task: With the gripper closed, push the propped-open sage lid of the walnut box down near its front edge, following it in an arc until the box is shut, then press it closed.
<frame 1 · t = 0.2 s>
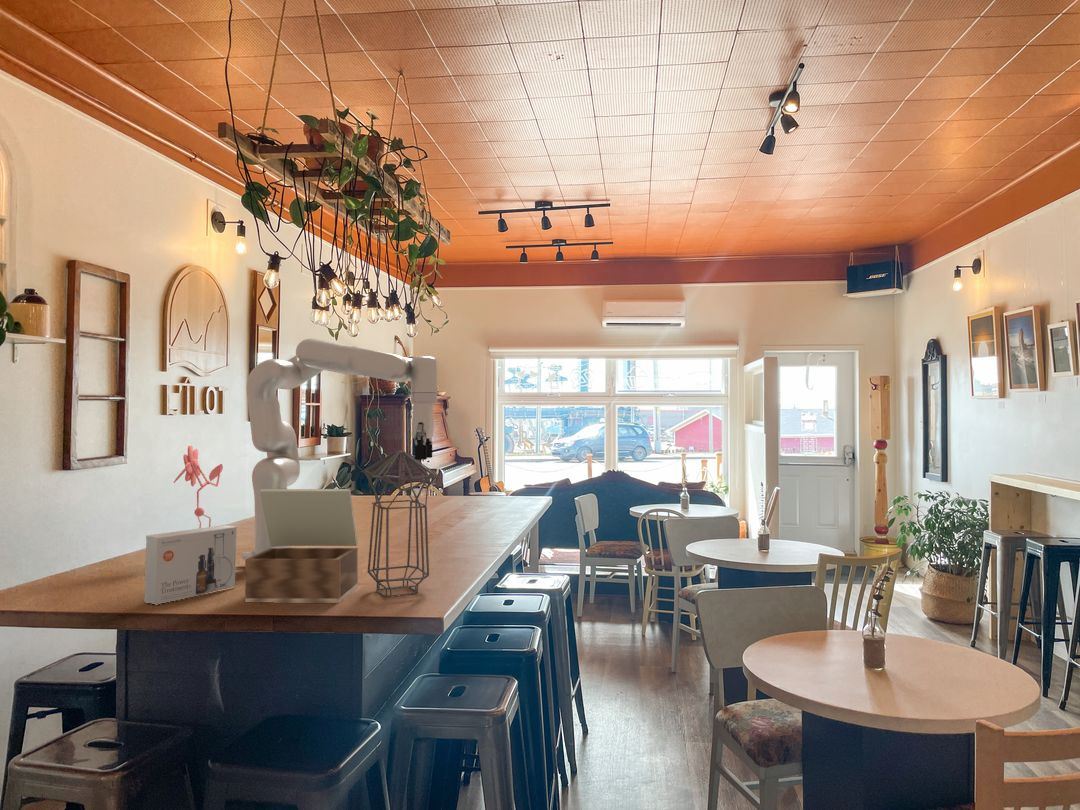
hand: (423, 458, 214), 31 cm above the table, tool pointing down, fingers open, 9 cm apart
skincare box: (192, 596, 180), on the table
geometric lantern: (399, 593, 182), on the table
figurine: (190, 561, 224), on the table
lid: (309, 517, 185), point 18 cm above the table, hinge at 65.0°
walnut box: (303, 594, 180), on the table
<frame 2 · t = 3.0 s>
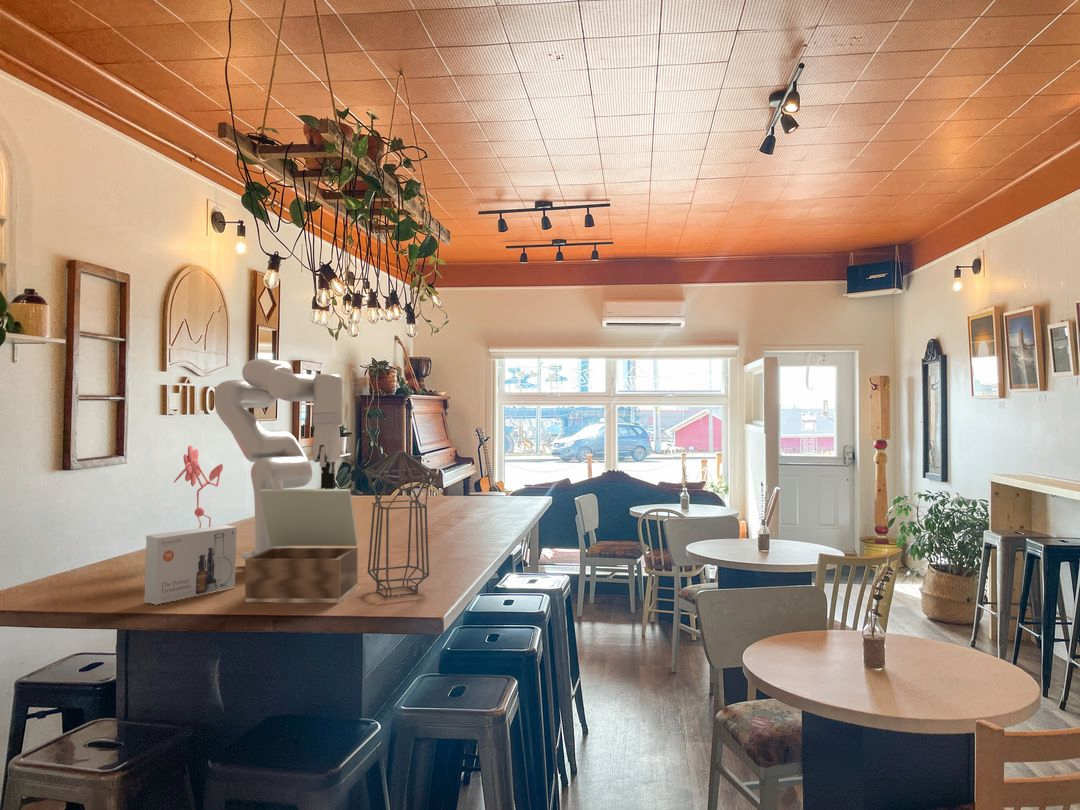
hand: (328, 487, 200), 24 cm above the table, tool pointing down, fingers closed
nothing on the table moved.
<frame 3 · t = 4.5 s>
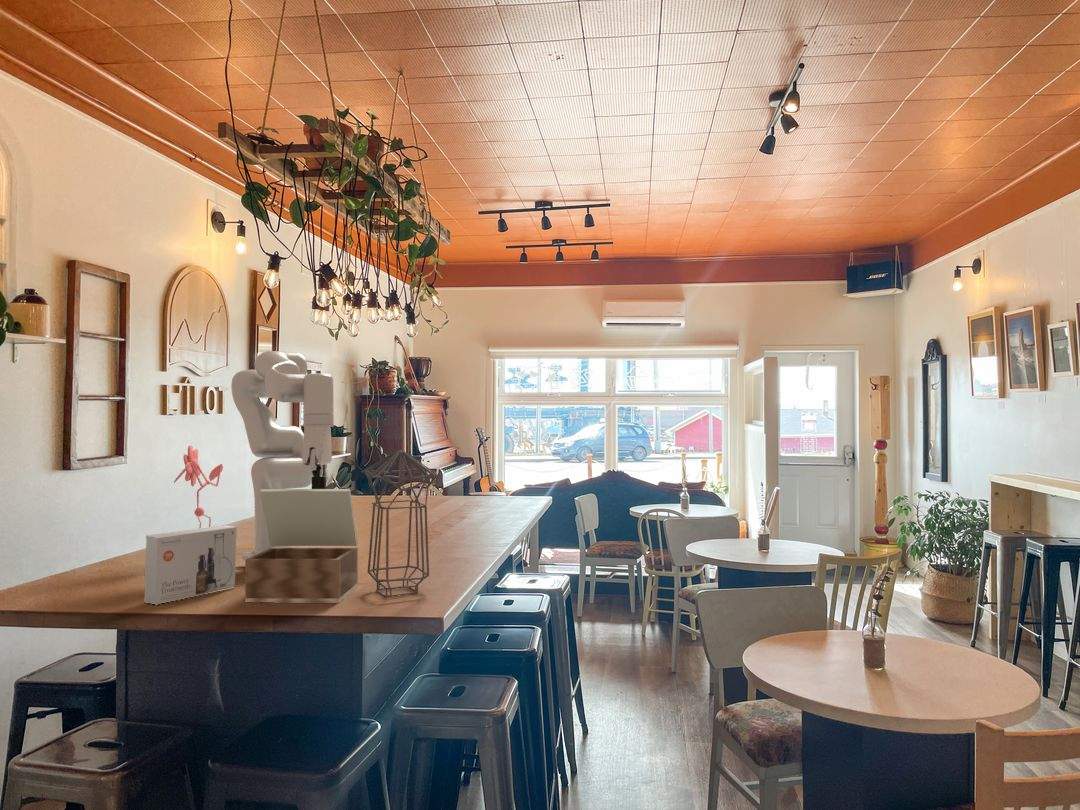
hand: (318, 492, 192), 24 cm above the table, tool pointing down, fingers closed
nothing on the table moved.
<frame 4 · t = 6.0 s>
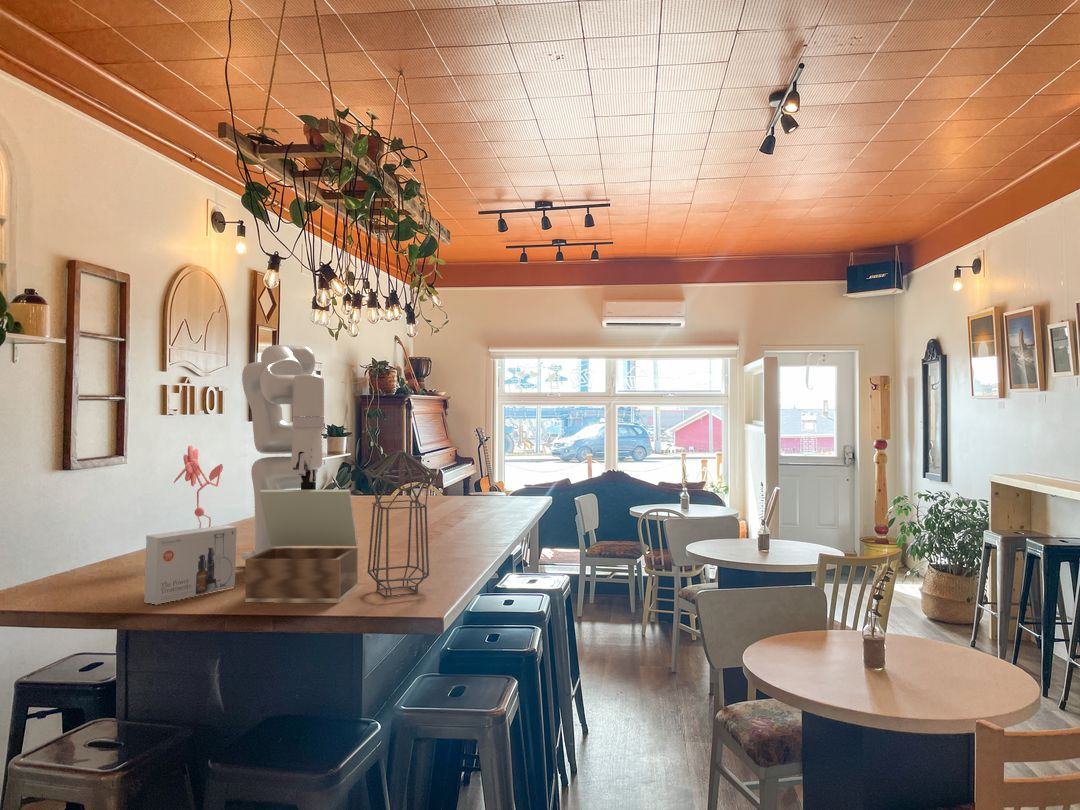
hand: (308, 498, 184), 23 cm above the table, tool pointing down, fingers closed
lid: (309, 518, 185), point 18 cm above the table, hinge at 64.2°, touching gripper
everything else where it was.
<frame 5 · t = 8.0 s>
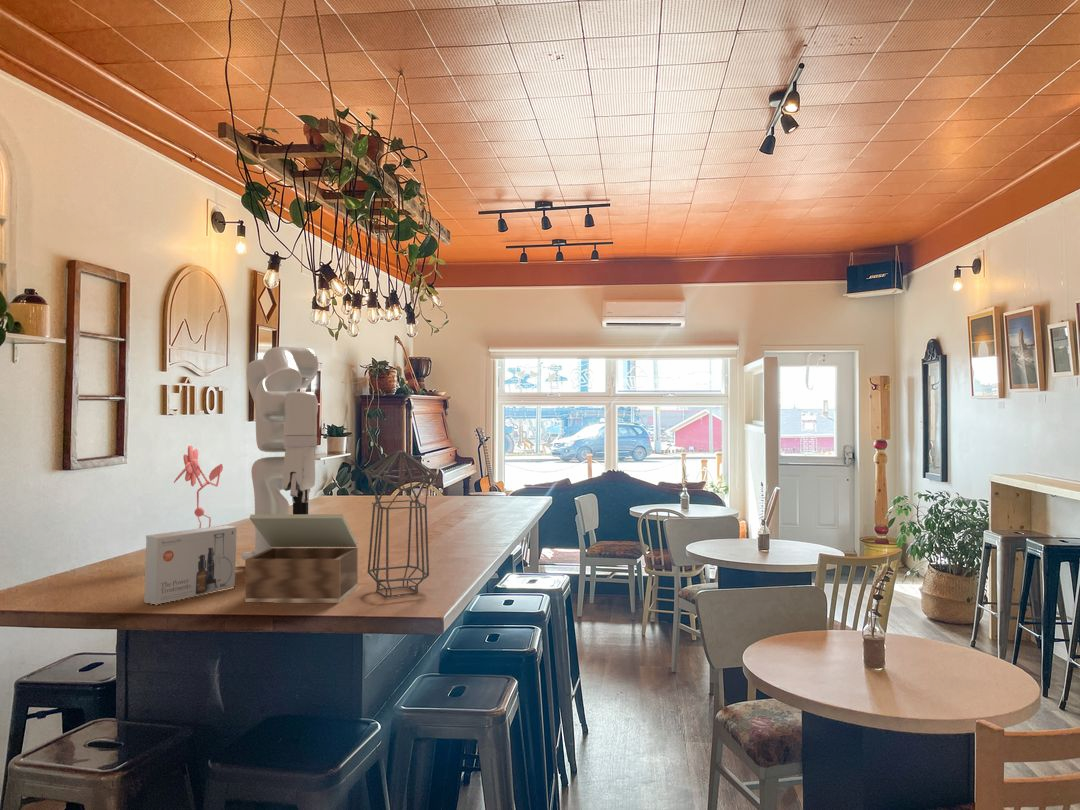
hand: (300, 518, 178), 19 cm above the table, tool pointing down, fingers closed
lid: (305, 531, 182), point 15 cm above the table, hinge at 34.8°, touching gripper
everything else where it was.
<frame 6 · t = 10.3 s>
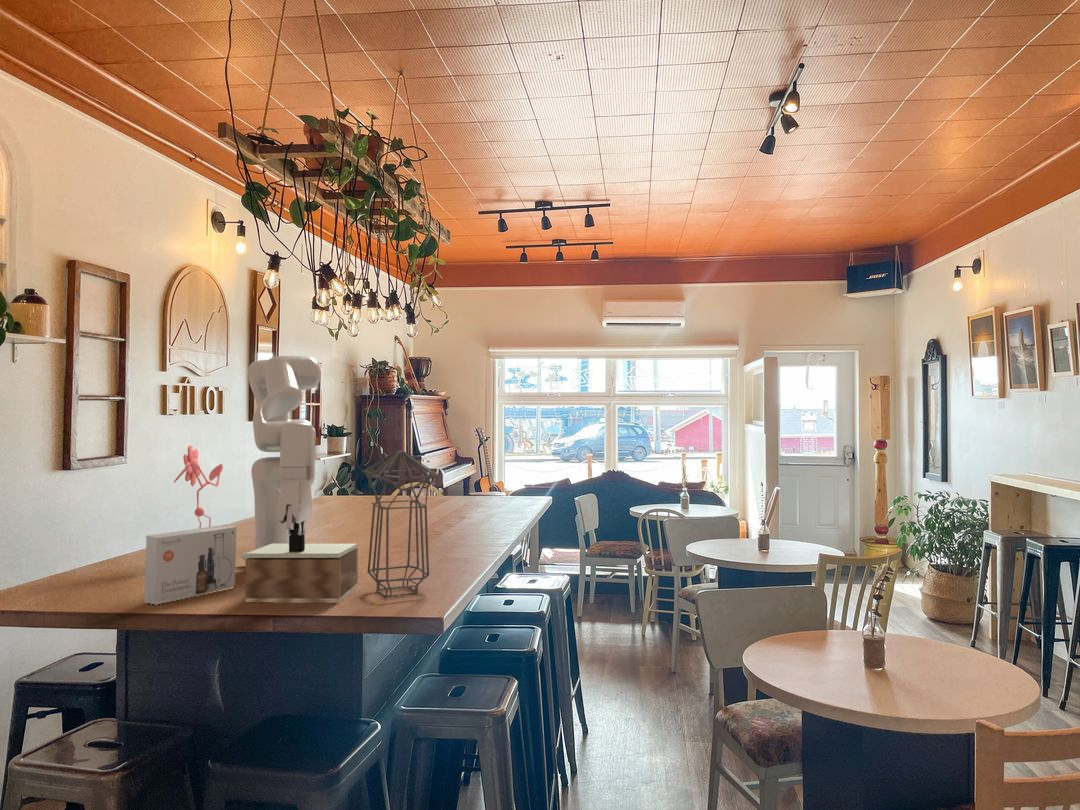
hand: (296, 551, 176), 11 cm above the table, tool pointing down, fingers closed
lid: (303, 550, 181), point 11 cm above the table, hinge at 1.6°, touching gripper
everything else where it was.
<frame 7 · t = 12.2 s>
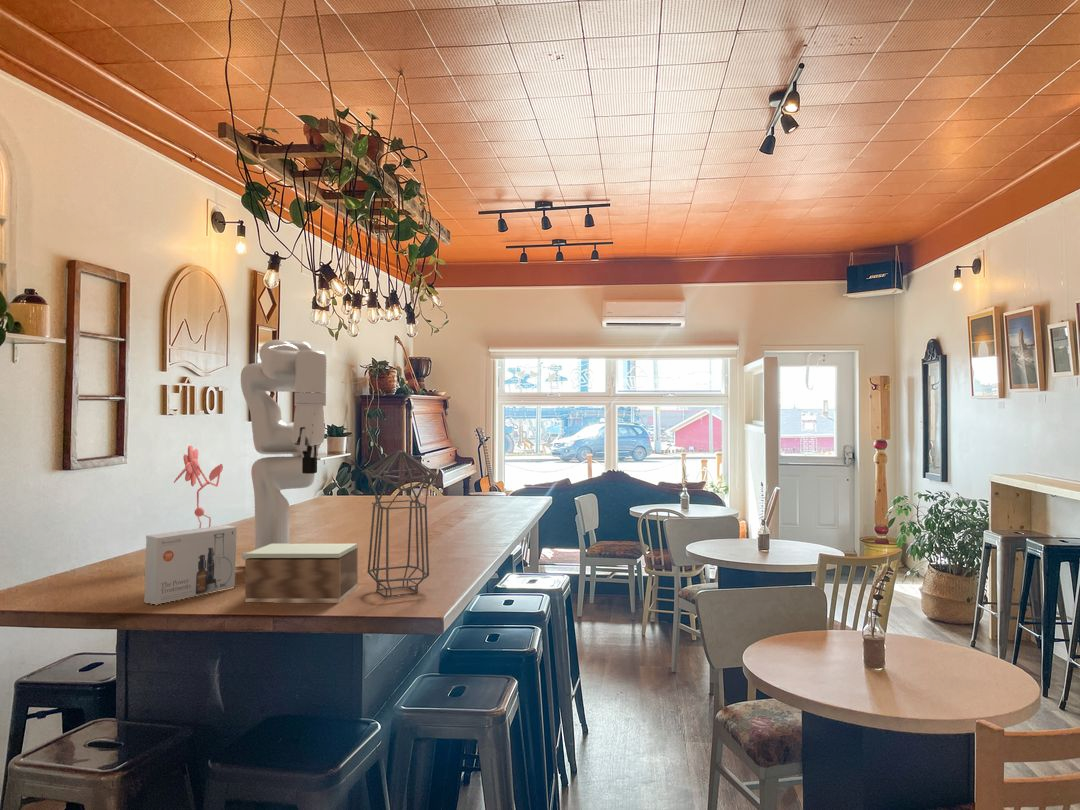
hand: (309, 473, 186), 29 cm above the table, tool pointing down, fingers closed
lid: (303, 550, 181), point 11 cm above the table, hinge at 1.5°
everything else where it was.
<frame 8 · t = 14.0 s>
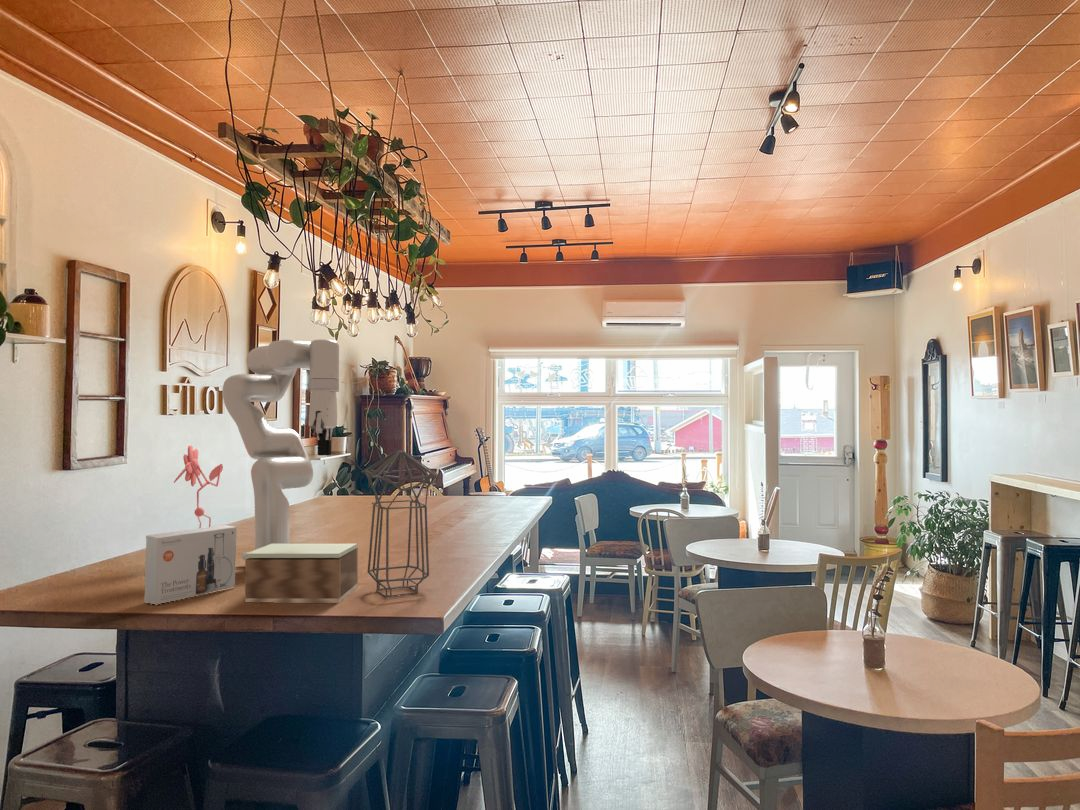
hand: (324, 455, 197), 33 cm above the table, tool pointing down, fingers closed
nothing on the table moved.
at the end: lid at +2° (first picture: +65°) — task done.
